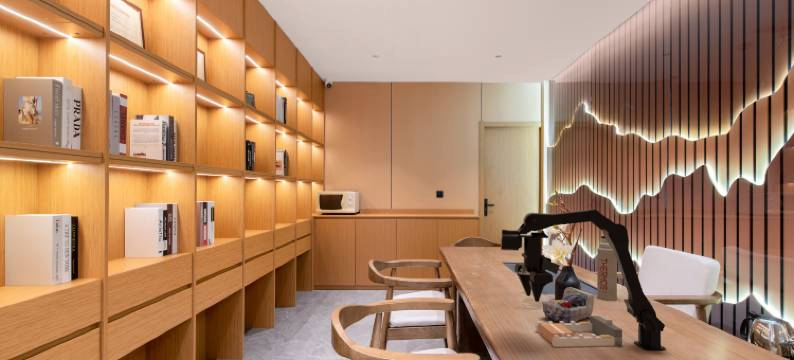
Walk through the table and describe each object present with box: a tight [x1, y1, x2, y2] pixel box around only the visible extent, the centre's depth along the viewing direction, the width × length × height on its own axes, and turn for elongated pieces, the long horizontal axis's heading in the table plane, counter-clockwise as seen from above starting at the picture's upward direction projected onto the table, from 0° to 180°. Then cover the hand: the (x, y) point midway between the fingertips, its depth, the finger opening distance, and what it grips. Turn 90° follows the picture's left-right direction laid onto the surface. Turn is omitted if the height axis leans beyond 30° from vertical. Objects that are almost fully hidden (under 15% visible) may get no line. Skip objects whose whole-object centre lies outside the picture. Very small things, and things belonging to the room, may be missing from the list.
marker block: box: [539, 323, 575, 344], centre depth 144 cm, size 10×7×4 cm
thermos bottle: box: [596, 235, 618, 301], centre depth 197 cm, size 8×8×28 cm
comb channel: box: [535, 315, 623, 348], centre depth 144 cm, size 15×22×6 cm
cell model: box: [541, 286, 595, 323], centre depth 166 cm, size 13×11×20 cm
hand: (532, 298), depth 144 cm, fingers open, 7 cm apart
